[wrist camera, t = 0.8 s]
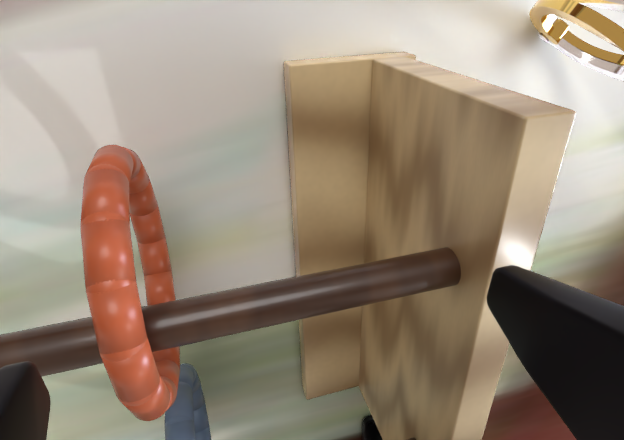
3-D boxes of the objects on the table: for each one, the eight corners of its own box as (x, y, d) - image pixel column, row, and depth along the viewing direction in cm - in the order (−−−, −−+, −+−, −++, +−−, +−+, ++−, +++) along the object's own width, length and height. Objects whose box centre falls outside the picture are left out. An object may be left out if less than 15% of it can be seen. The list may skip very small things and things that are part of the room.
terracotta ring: (180, 294, 21) (184, 474, 14) (156, 299, 21) (145, 485, 13) (137, 112, 17) (104, 226, 9) (105, 115, 17) (42, 236, 9)
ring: (484, 19, 21) (634, 37, 14) (528, -45, 20) (711, -59, 13) (559, 91, 24) (709, 134, 17) (599, 40, 23) (775, 63, 16)
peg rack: (380, 366, 31) (465, 526, 22) (139, 428, 27) (122, 654, 18) (404, 51, 20) (597, 108, 11) (8, 81, 16) (-206, 208, 7)
